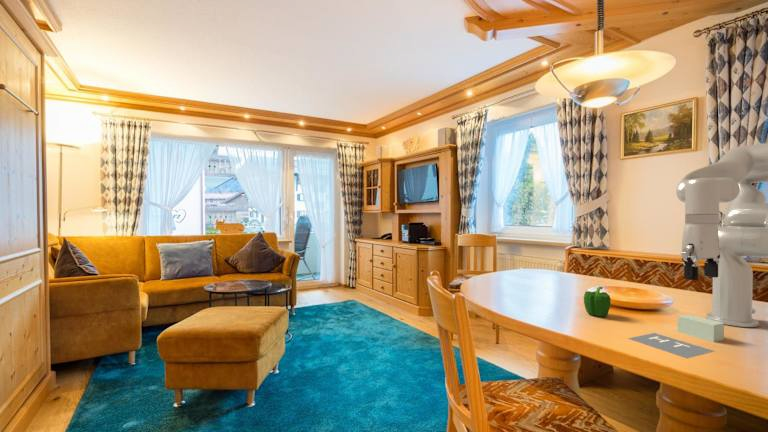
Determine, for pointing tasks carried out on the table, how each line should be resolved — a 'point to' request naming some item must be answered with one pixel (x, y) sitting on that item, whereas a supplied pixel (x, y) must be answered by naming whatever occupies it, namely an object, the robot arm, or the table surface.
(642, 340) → the card
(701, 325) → the sage block
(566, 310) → the table surface
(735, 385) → the table surface
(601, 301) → the bell pepper
